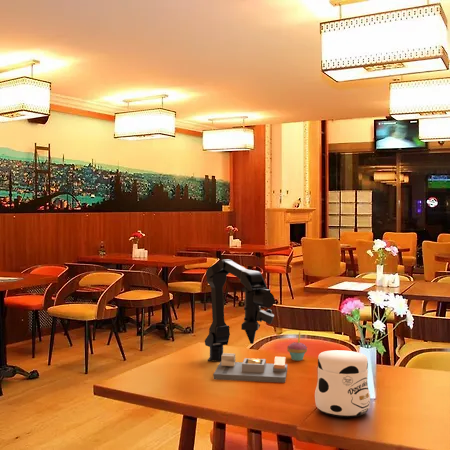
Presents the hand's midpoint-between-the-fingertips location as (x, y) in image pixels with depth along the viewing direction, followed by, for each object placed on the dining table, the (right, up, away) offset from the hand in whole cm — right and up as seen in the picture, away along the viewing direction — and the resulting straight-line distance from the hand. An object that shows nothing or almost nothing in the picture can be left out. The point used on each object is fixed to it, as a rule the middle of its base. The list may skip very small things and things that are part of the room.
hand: (251, 343), depth 229 cm
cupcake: (+20, -11, +22) cm, 32 cm away
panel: (0, -12, 0) cm, 12 cm away
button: (+1, -9, -1) cm, 9 cm away
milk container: (+27, -14, -42) cm, 52 cm away
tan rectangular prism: (-9, -10, +4) cm, 14 cm away
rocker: (+11, -7, -2) cm, 13 cm away
